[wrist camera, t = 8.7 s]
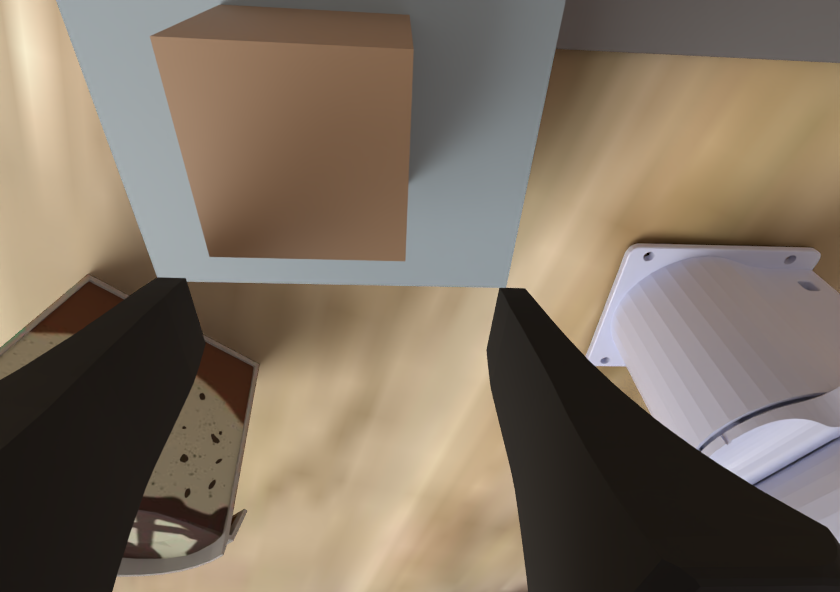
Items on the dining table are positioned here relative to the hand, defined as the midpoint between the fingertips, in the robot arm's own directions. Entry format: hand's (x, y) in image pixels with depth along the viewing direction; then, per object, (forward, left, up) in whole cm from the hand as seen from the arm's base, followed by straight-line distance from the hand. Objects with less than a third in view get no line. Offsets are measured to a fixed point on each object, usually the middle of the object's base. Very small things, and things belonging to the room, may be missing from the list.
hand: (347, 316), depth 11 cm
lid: (+1, -3, -6) cm, 7 cm away
